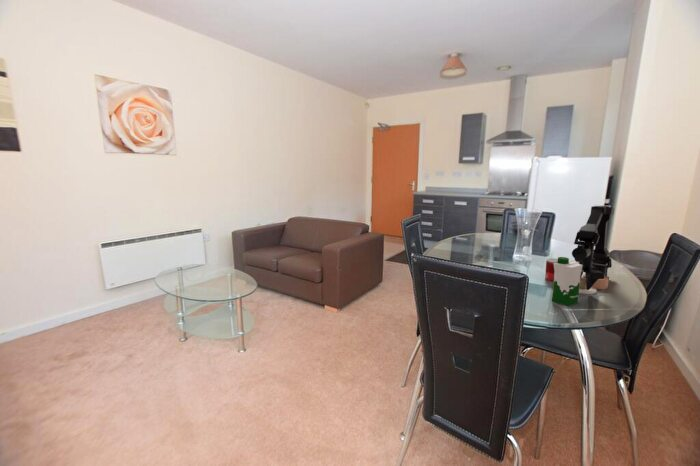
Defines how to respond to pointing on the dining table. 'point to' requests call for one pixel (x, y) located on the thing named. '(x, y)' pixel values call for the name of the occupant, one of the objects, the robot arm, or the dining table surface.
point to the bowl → (600, 283)
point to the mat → (594, 294)
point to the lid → (583, 287)
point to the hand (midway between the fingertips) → (582, 286)
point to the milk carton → (566, 281)
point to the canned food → (550, 269)
